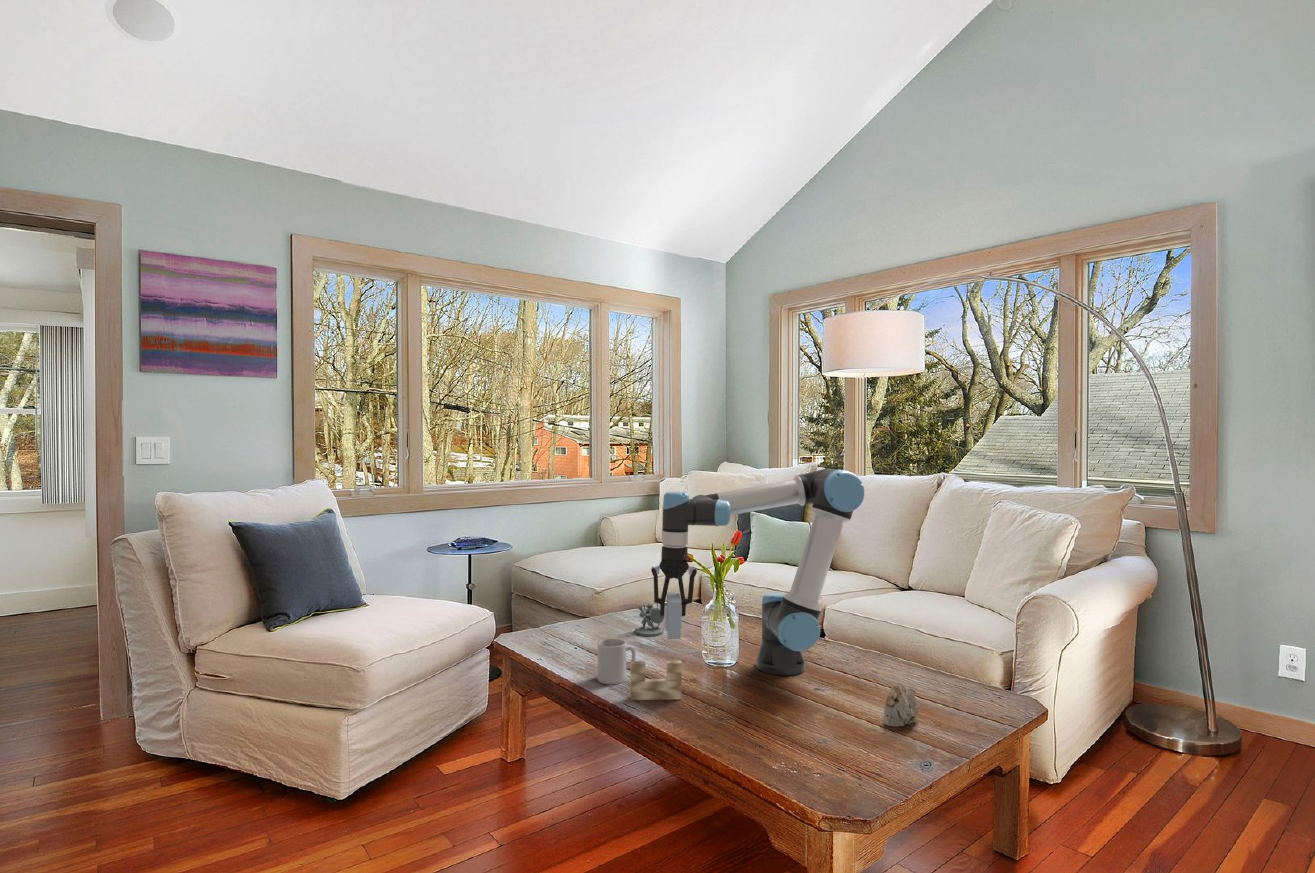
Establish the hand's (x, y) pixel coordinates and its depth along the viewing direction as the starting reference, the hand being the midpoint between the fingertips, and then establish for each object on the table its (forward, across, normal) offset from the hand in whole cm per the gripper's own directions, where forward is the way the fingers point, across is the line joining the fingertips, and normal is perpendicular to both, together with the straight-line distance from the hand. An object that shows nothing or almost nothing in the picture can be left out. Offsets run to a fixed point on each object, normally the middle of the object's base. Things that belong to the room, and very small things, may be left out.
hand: (672, 626), depth 198 cm
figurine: (+18, +6, -56) cm, 59 cm away
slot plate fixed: (+18, +4, +8) cm, 20 cm away
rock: (+16, -59, +24) cm, 65 cm away
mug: (+18, +16, -8) cm, 25 cm away
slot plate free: (+1, 0, +4) cm, 4 cm away
